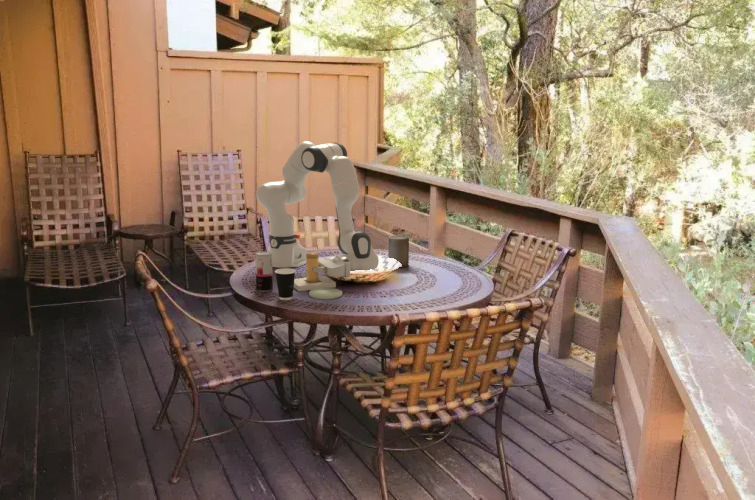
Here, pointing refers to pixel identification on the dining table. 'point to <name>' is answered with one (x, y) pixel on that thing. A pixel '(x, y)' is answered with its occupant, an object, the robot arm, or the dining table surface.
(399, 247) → the pillar candle
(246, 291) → the dining table surface
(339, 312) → the dining table surface
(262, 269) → the beverage can
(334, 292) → the mat
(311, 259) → the plug
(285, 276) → the dixie cup
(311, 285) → the socket block
